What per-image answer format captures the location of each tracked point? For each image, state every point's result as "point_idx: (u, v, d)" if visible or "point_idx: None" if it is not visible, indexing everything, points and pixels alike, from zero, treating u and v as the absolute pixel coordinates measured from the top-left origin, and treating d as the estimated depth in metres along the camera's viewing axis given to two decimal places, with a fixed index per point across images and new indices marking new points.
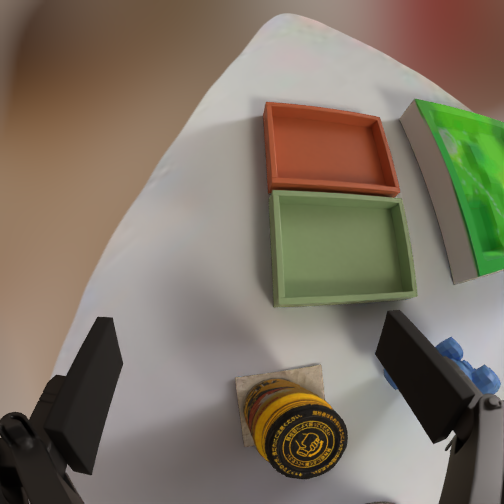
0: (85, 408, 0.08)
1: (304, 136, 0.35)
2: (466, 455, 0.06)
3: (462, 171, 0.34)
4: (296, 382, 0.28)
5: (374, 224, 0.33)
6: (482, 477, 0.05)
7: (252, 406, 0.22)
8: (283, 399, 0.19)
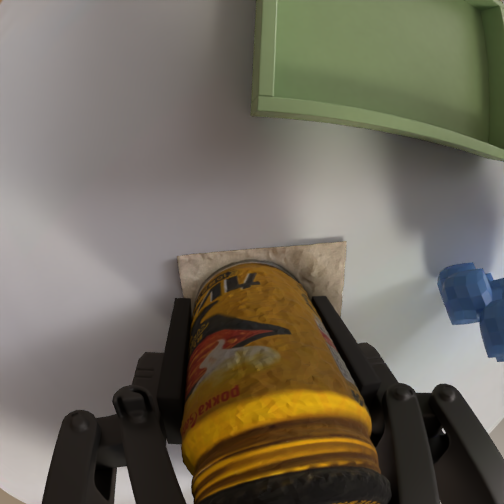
0: (185, 378, 0.10)
1: None
2: (384, 454, 0.07)
3: None
4: (295, 270, 0.16)
5: (456, 19, 0.11)
6: (409, 479, 0.06)
7: (193, 351, 0.11)
8: (249, 407, 0.07)
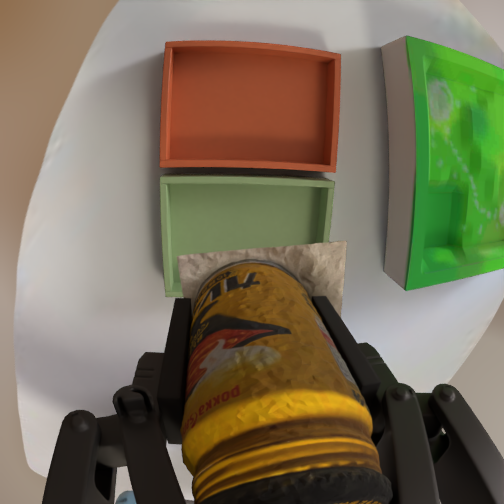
0: (185, 378, 0.10)
1: (219, 81, 0.24)
2: (384, 454, 0.07)
3: (444, 147, 0.25)
4: (295, 270, 0.16)
5: (292, 203, 0.29)
6: (409, 479, 0.06)
7: (193, 351, 0.11)
8: (249, 408, 0.07)
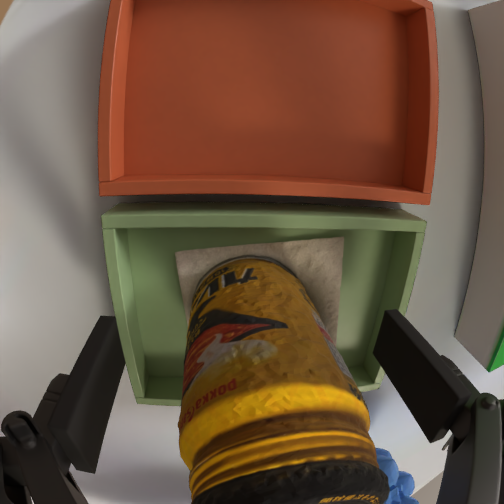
0: (89, 406, 0.08)
1: (220, 27, 0.11)
2: (463, 455, 0.06)
3: None
4: (293, 265, 0.16)
5: (349, 255, 0.16)
6: (480, 477, 0.05)
7: (191, 346, 0.11)
8: (246, 401, 0.07)
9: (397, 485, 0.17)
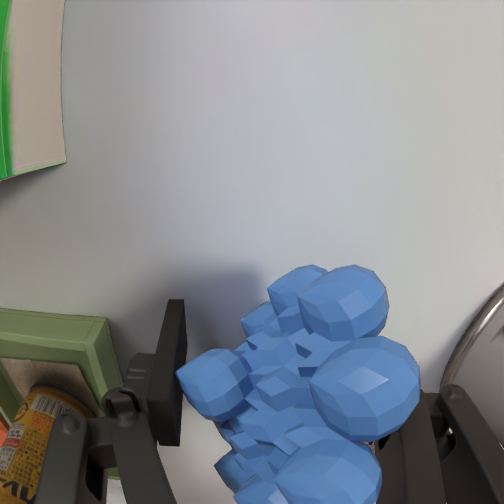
0: (176, 380, 0.10)
1: None
2: (392, 453, 0.07)
3: None
4: (27, 386, 0.16)
5: (8, 351, 0.15)
6: (416, 478, 0.06)
7: None
8: None
9: (299, 348, 0.09)
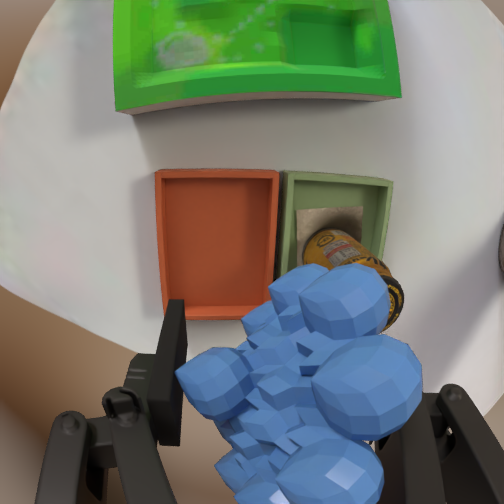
0: (176, 380, 0.10)
1: (195, 270, 0.32)
2: (392, 453, 0.07)
3: (238, 41, 0.22)
4: (309, 233, 0.32)
5: (307, 204, 0.31)
6: (416, 478, 0.06)
7: None
8: None
9: (300, 347, 0.09)
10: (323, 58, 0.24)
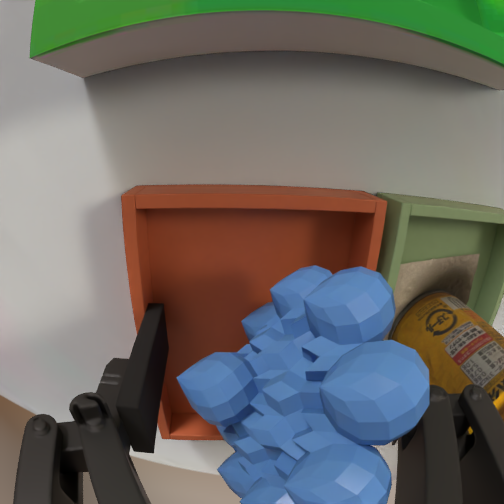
0: (150, 386, 0.10)
1: None
2: (415, 452, 0.07)
3: None
4: (405, 301, 0.17)
5: (410, 253, 0.16)
6: (436, 476, 0.05)
7: None
8: None
9: (305, 352, 0.09)
10: (443, 4, 0.10)
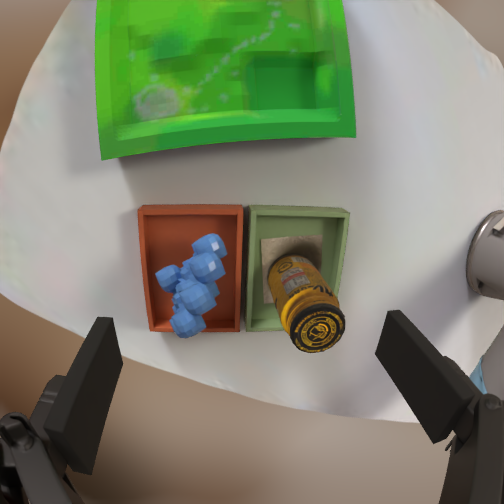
0: (85, 408, 0.08)
1: None
2: (466, 455, 0.06)
3: (205, 93, 0.27)
4: (273, 259, 0.36)
5: (270, 233, 0.35)
6: (482, 477, 0.05)
7: None
8: (283, 326, 0.29)
9: None
10: (284, 102, 0.29)
